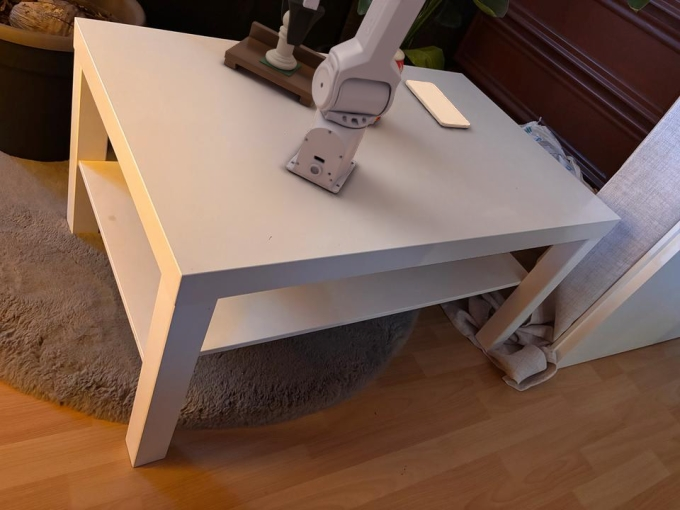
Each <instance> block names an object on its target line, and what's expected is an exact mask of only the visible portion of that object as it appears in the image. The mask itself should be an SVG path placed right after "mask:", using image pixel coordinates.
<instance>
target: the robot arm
mask: <svg viewBox="0 0 680 510" xmlns="http://www.w3.org/2000/svg"><path fill="white" fill-rule="evenodd" d="M320 1H321V0H282V1H281V12H280V13H281V15H280V22H281V23H282V24H283V17H284V15H285V13H286V12H287V11H289V23H288V30H287V44H289V45H293V46H297V47H300V45H303V42H304V40H305V39H306V37H307V35H308V34H309V32H310V31H311V29H312V27H313V26H314V25H315V24H316V23H317V22H318V21H319V20H320V19H321V18H323V16H324V15H325V12H326V10H325V8H324V6H322V5H319V4H320ZM426 1H427V0H372V1H371V3H370V5H369V8H368V9H367V12H366V14H365V15H364V17H363V19H362V21H361V23H360V26H359V28H358V30H357V31H356V34H355V36H354V37H353V38H351V39H348V40H346V41H343V42H341V43H339V44H337V45H335V46H333V47H331V48H330V50H329V52H328V54H327V56H326V57H327V58H326V59H325V60H324V61H323V62H322V63H321V64H320V65H319V67H318V68H317V69H316V71H315V74H314V77H313V82H312V96H313V100H314V105H315V106H316V111H315V114H314V117H313V120H312V121H311V125H310V128H309V129H308V131H306V133H305V135H304V137H303V140H302V143H301V145H300V148H299V150H298V151H297V152H296V153H295V155H294V156H293V157H292V158H291V159H290V160H289V162H288V163H287V164H286V167H285V168H286V169H287V170H288V171H289V172H292V173H293V174H296V175H298V176H300V177H301V178H304V179H305V180H308V181H310V182H311V183H314V184H316V185H317V186H319V187H322V188H324V189H326V190H328V191H329V192H332V193H333V194H338V193H339V191H341V188H342V186H343V185H344V183H346V180H347V179H348V177H349V175H351V173H352V171H353V169H354V168H355V167H356V165H357V161H356V160H354V158H355V155H356V153H357V151H358V149H359V146H360V144H361V142H362V139H363V137H364V135H365V132H366V130H367V128H368V126H369V125H374V124H375V122H376V121H375V119H376V117H383V116H385V115H386V114H388V112H389V110H390V109H391V107H392V105H393V103H394V100H395V96H396V91H397V88H398V86H399V85H400V83H401V81H402V74H401V75H400V70H399V67H398V65H397V63H396V61H395V60H394V58H393V57H394V56H395V54H396V52H397V50H398V49H400V47H401V45H402V44H403V41H404V40H405V38H406V36H407V35H408V33H409V31H410V30H411V27H412V26H413V24H414V22H415V20H416V19H417V17H418V15H419V13H420V12H421V10H422V8H423V6H424V4H425V3H426Z"/></svg>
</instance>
